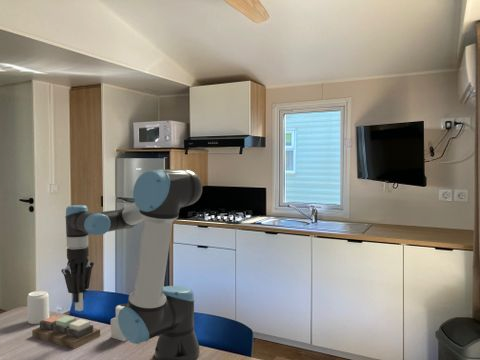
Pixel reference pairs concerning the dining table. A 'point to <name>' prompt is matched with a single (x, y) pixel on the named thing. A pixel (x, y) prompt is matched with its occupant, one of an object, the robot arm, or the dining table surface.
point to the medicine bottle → (117, 325)
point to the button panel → (65, 334)
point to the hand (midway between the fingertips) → (79, 309)
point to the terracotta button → (51, 319)
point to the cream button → (79, 325)
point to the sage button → (65, 321)
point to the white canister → (37, 306)
